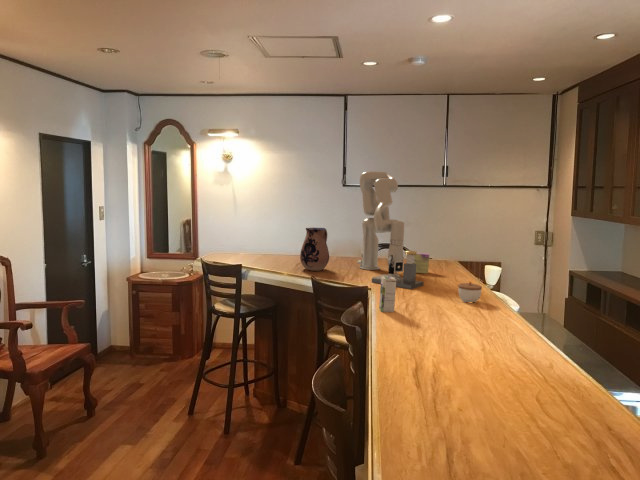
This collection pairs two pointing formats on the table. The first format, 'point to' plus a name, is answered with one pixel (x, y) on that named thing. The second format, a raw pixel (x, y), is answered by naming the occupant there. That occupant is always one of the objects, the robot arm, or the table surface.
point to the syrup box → (387, 294)
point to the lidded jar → (469, 292)
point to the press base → (404, 278)
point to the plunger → (410, 256)
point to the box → (421, 262)
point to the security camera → (397, 268)
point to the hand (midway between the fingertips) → (395, 272)
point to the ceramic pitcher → (315, 249)
